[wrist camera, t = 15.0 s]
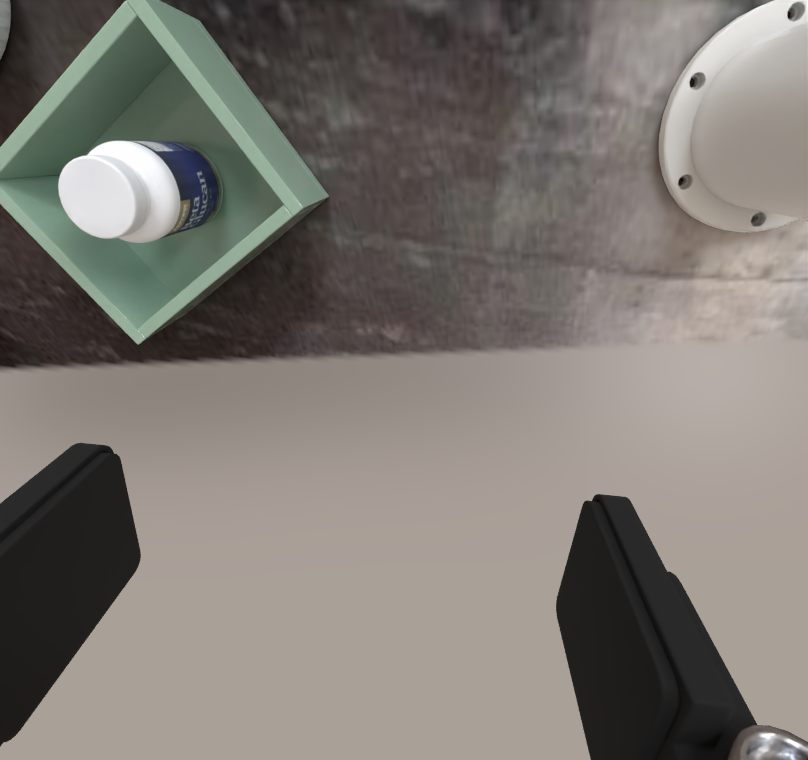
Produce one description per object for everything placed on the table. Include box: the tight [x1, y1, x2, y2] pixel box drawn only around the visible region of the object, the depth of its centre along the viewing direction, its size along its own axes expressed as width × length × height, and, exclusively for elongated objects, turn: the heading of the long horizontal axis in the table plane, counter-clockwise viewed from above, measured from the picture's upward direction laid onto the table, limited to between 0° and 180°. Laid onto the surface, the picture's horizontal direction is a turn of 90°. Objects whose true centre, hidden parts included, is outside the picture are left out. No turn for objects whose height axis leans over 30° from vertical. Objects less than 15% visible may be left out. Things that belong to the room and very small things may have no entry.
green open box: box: [0, 0, 329, 345], centre depth 32 cm, size 15×13×7 cm
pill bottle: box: [58, 141, 223, 243], centre depth 29 cm, size 5×5×10 cm
